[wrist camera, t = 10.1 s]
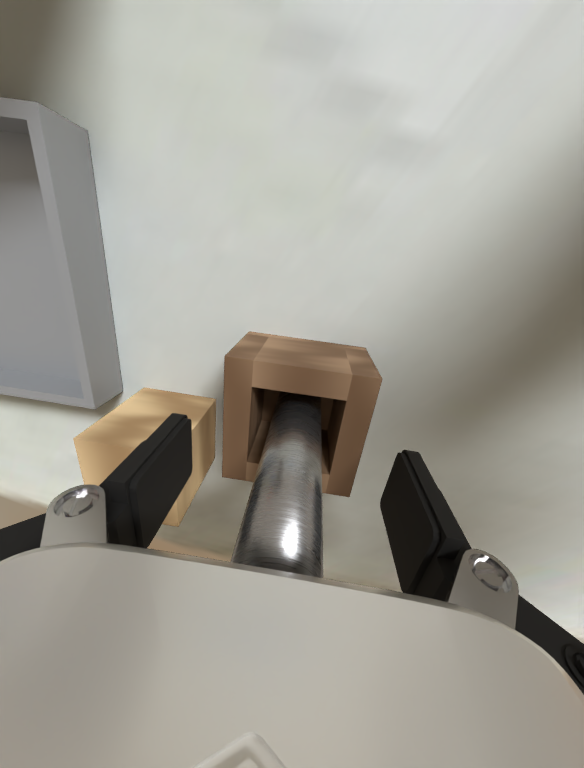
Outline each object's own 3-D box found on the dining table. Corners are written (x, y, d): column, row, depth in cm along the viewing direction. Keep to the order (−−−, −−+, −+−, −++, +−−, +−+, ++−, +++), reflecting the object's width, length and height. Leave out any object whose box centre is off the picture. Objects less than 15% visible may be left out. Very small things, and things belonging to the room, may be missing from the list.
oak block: (216, 398, 19) (173, 455, 13) (215, 456, 21) (177, 527, 15) (144, 387, 19) (72, 439, 13) (150, 446, 21) (90, 512, 15)
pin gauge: (324, 380, 17) (333, 609, 6) (317, 416, 18) (314, 665, 7) (282, 374, 17) (214, 588, 6) (277, 410, 18) (214, 646, 7)
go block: (364, 346, 17) (382, 379, 12) (342, 441, 19) (349, 497, 15) (250, 330, 17) (224, 356, 12) (244, 427, 20) (222, 476, 15)
